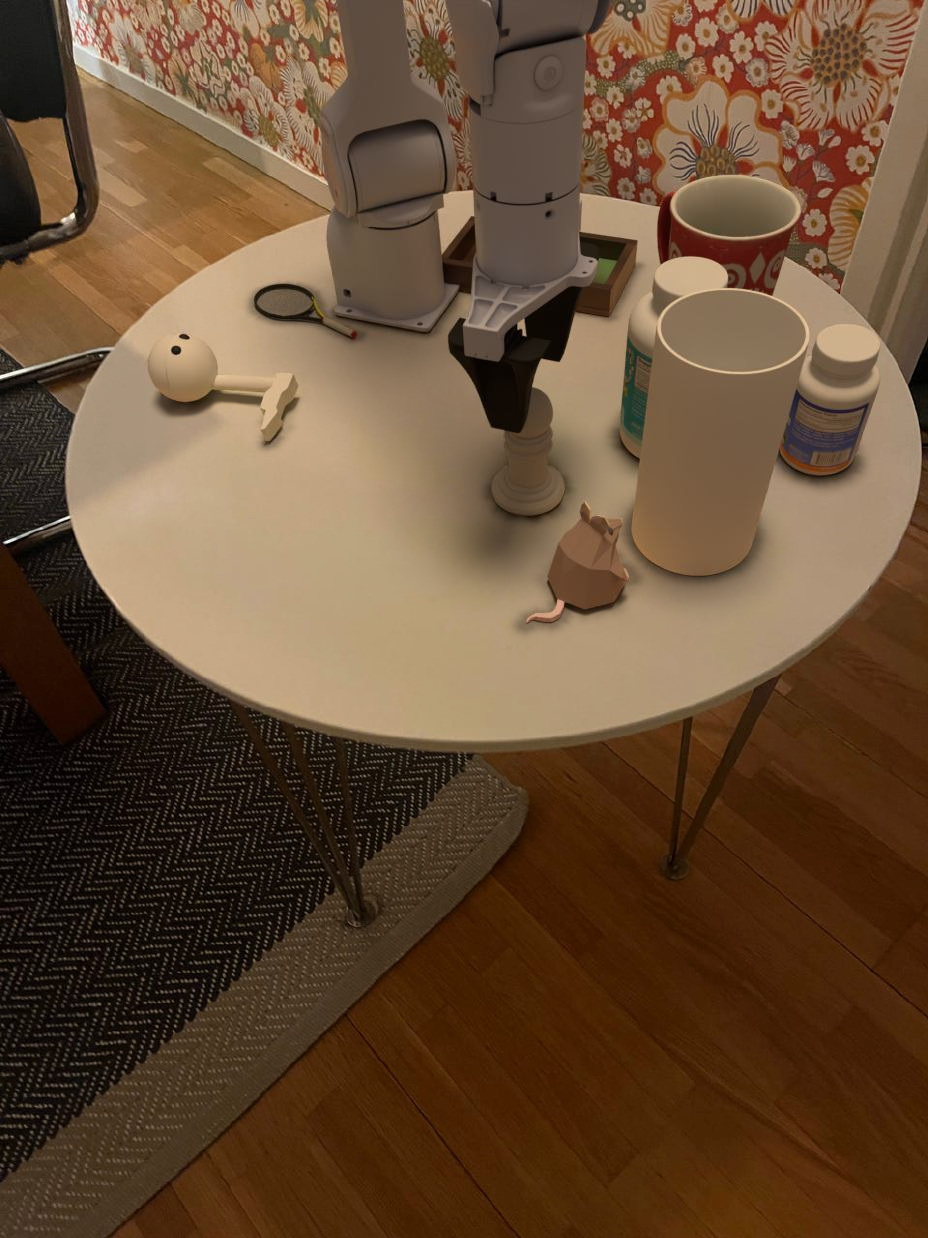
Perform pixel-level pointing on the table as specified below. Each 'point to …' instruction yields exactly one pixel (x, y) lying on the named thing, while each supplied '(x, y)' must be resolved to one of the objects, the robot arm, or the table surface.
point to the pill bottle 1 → (667, 287)
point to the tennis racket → (301, 315)
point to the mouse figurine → (586, 565)
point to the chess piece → (530, 464)
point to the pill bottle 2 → (832, 400)
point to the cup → (714, 425)
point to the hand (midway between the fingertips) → (527, 390)
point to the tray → (594, 298)
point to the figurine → (213, 378)
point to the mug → (730, 227)
